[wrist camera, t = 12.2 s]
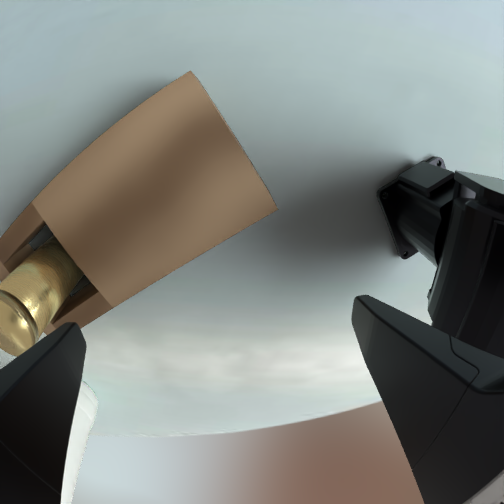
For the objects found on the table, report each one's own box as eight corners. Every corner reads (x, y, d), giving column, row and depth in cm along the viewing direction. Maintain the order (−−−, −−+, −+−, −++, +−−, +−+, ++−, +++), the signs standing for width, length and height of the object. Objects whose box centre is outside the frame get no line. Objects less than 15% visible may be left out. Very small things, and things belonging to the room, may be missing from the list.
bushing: (101, 252, 22) (41, 335, 13) (77, 284, 23) (22, 367, 14) (63, 218, 20) (-14, 283, 11) (42, 253, 21) (-26, 323, 12)
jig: (269, 192, 21) (278, 209, 17) (72, 316, 24) (55, 344, 20) (198, 79, 17) (190, 70, 14) (10, 238, 21) (-15, 258, 17)
